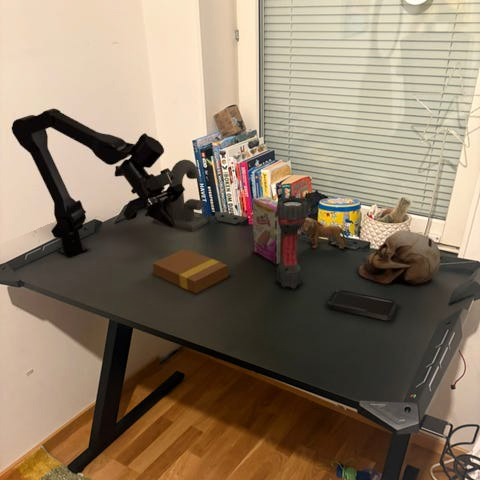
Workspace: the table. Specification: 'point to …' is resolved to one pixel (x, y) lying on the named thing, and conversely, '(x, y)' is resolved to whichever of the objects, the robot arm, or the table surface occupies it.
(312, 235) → the lion figurine
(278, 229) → the candy bar box
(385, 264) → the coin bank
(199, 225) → the dark grey curved stand
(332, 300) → the phone
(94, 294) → the table surface
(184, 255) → the brown banded box
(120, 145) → the robot arm
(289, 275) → the flashlight
